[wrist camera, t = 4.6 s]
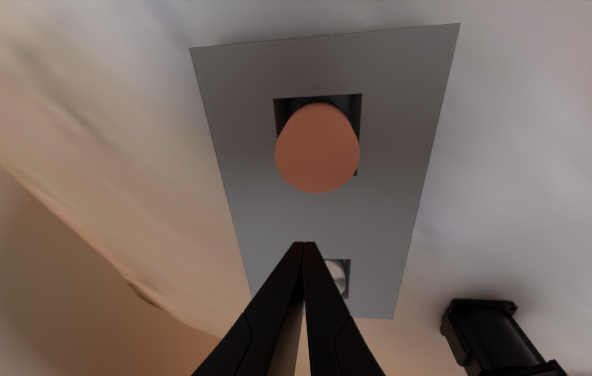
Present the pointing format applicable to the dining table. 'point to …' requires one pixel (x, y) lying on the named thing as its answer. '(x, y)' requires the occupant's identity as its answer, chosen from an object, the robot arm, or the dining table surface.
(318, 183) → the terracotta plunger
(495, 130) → the dining table surface
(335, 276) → the grey rounded piece
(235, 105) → the press block
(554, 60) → the dining table surface
